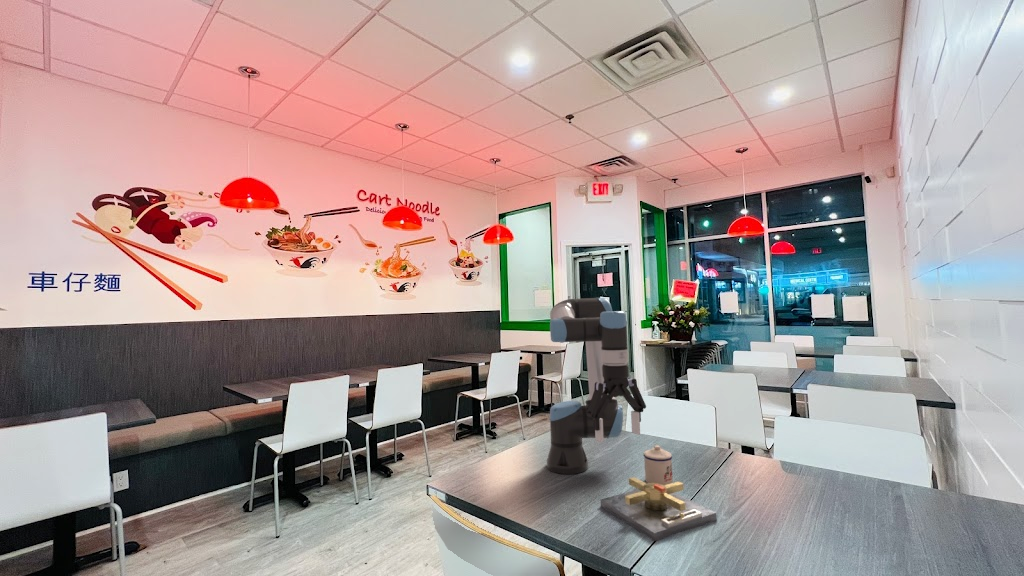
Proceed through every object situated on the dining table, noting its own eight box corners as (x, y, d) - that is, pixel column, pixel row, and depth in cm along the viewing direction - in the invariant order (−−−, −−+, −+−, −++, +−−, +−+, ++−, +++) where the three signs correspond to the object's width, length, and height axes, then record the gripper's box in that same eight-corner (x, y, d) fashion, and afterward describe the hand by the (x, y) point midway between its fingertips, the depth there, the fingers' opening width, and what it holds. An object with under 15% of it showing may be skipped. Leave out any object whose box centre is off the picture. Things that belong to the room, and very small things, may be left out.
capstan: (605, 499, 127) (604, 479, 127) (656, 485, 136) (655, 466, 136) (654, 529, 109) (653, 506, 109) (710, 511, 118) (709, 489, 118)
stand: (600, 506, 127) (600, 493, 128) (657, 490, 137) (656, 478, 137) (654, 541, 108) (654, 526, 108) (716, 520, 117) (715, 506, 117)
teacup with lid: (670, 489, 138) (668, 452, 138) (641, 484, 143) (640, 448, 143) (677, 476, 148) (675, 441, 149) (650, 471, 153) (648, 438, 153)
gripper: (588, 369, 118) (591, 448, 117) (656, 361, 129) (659, 433, 128) (572, 366, 124) (575, 441, 123) (638, 359, 136) (641, 427, 135)
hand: (618, 437), depth 126 cm, fingers open, 13 cm apart
